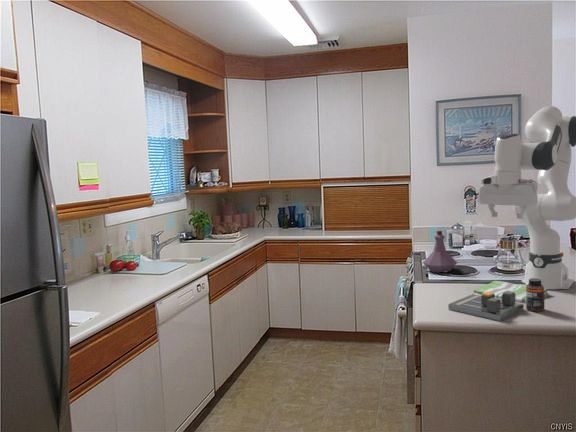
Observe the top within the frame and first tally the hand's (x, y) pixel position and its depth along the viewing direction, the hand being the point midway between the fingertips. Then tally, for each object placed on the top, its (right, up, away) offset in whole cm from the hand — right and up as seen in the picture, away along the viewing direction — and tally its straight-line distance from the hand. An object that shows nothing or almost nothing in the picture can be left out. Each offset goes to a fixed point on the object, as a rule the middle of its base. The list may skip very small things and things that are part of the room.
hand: (506, 217), depth 174 cm
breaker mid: (-6, -32, +3) cm, 32 cm away
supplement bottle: (+11, -34, +1) cm, 35 cm away
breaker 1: (-7, -33, -4) cm, 34 cm away
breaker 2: (+2, -31, +3) cm, 32 cm away
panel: (-6, -34, +4) cm, 35 cm away
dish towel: (+11, -32, +22) cm, 40 cm away
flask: (-4, -27, +65) cm, 71 cm away
